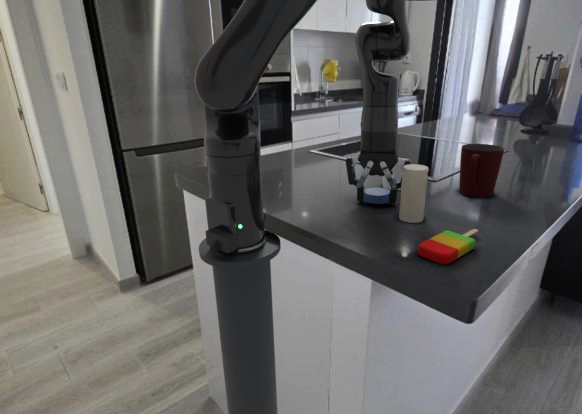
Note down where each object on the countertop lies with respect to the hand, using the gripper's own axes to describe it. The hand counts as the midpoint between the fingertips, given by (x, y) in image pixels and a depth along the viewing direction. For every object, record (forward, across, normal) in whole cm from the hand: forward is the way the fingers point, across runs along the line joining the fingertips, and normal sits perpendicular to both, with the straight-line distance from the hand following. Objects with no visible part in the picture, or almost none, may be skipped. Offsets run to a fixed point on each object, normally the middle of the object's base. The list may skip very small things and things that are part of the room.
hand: (376, 203), depth 85 cm
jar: (0, -8, +7) cm, 10 cm away
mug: (+1, -21, -13) cm, 25 cm away
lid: (-2, 0, 0) cm, 2 cm away
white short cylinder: (0, -3, -14) cm, 14 cm away
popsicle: (+1, -16, +18) cm, 24 cm away
